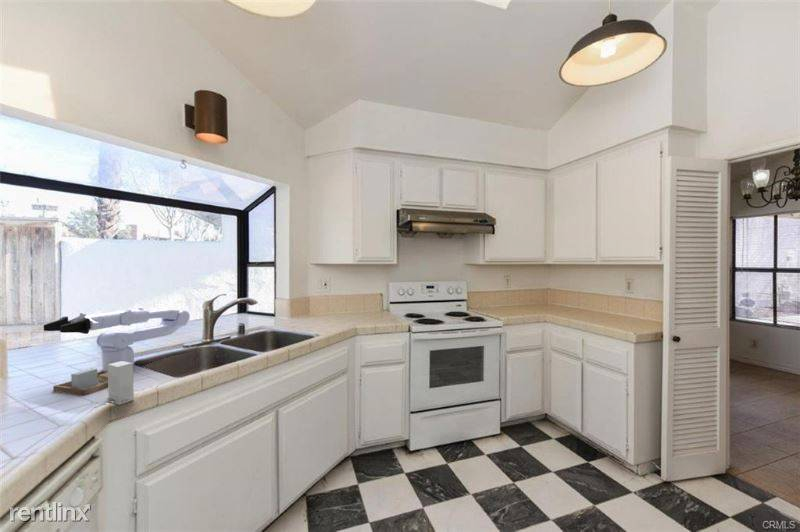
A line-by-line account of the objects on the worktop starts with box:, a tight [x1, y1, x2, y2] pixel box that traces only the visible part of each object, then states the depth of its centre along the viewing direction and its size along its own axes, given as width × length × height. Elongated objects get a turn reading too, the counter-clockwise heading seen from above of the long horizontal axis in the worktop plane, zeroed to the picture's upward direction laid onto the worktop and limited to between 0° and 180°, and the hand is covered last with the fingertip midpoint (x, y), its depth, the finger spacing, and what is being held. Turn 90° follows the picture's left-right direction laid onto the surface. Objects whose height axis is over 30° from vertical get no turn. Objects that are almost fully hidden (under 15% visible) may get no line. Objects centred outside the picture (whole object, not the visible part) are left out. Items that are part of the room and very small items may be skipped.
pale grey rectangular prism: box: [70, 367, 99, 389], centre depth 115 cm, size 6×2×7 cm, turn 166°
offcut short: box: [97, 372, 108, 383], centre depth 121 cm, size 3×5×2 cm, turn 70°
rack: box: [52, 370, 108, 396], centre depth 118 cm, size 15×14×3 cm
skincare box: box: [107, 361, 135, 406], centre depth 108 cm, size 6×4×12 cm
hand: (52, 328), depth 115 cm, fingers open, 7 cm apart
